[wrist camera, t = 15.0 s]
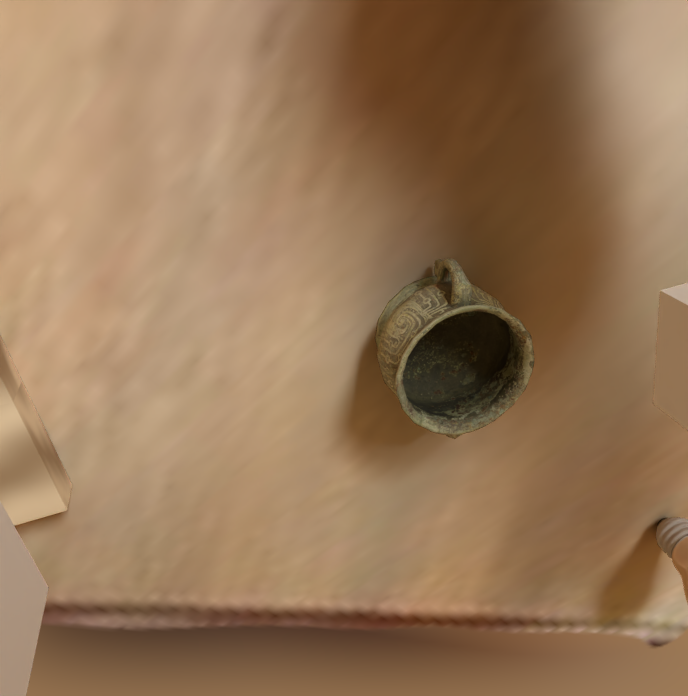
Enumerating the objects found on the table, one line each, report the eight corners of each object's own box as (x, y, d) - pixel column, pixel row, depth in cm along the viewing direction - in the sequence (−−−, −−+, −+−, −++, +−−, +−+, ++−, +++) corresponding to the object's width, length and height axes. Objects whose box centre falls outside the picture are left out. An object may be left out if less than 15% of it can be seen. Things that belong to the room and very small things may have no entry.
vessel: (362, 251, 40) (394, 287, 34) (496, 234, 42) (546, 266, 36) (368, 416, 45) (396, 470, 40) (486, 396, 47) (529, 444, 42)
